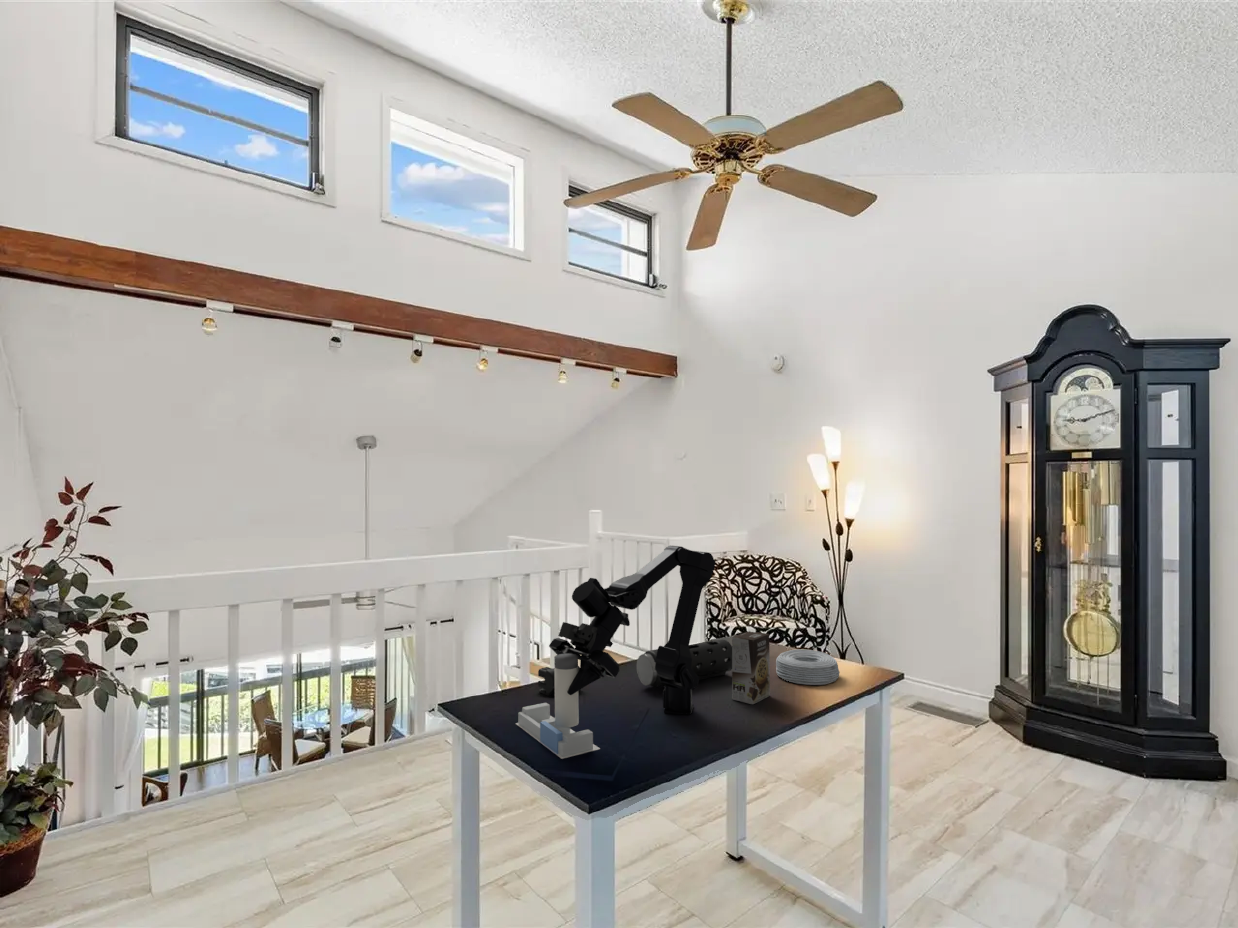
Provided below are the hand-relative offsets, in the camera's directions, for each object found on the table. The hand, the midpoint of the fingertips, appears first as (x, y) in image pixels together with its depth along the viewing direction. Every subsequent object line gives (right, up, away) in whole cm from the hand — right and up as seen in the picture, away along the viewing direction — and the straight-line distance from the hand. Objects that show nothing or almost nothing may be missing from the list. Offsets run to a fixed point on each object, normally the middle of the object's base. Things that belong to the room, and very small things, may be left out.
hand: (561, 690), depth 141 cm
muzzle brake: (+31, -13, +45) cm, 56 cm away
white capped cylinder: (+1, -7, +1) cm, 7 cm away
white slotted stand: (-2, -12, +5) cm, 13 cm away
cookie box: (+46, -13, +32) cm, 57 cm away
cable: (+66, -13, +49) cm, 83 cm away
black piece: (-4, -13, +38) cm, 40 cm away
